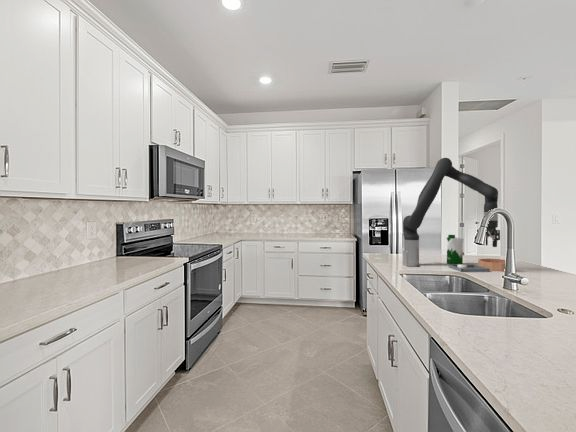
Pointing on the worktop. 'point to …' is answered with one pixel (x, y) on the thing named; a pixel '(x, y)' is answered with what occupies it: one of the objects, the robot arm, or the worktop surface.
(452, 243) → the milk carton
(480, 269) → the tray
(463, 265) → the white pebble
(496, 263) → the bowl
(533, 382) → the worktop surface
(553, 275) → the worktop surface
